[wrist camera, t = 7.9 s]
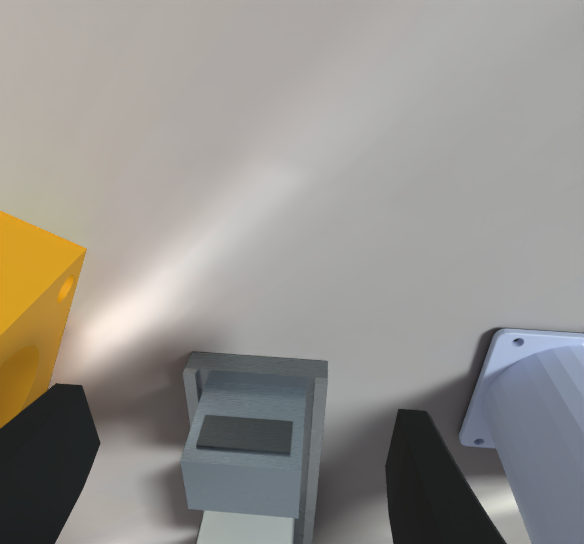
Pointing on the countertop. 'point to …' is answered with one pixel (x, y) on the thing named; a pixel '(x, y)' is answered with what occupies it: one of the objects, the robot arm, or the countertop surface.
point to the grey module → (244, 529)
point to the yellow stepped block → (32, 308)
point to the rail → (255, 436)
